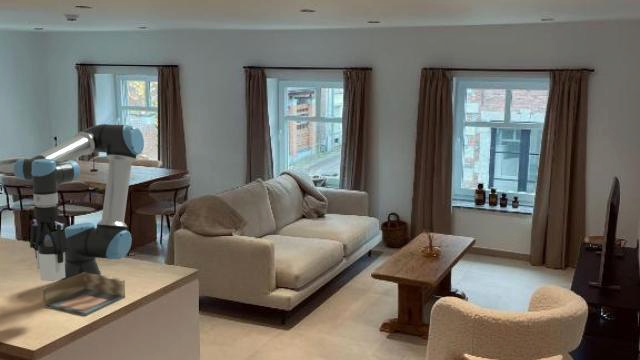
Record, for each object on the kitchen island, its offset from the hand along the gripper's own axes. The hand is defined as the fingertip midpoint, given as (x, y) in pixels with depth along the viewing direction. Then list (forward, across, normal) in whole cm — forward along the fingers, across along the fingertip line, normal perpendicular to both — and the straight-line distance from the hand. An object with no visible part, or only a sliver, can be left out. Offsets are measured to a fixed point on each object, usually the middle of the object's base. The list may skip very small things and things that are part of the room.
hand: (50, 269), depth 218 cm
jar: (+3, +1, +1) cm, 3 cm away
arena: (+17, 0, +15) cm, 23 cm away
